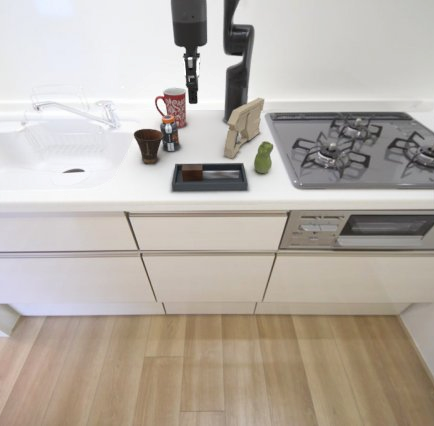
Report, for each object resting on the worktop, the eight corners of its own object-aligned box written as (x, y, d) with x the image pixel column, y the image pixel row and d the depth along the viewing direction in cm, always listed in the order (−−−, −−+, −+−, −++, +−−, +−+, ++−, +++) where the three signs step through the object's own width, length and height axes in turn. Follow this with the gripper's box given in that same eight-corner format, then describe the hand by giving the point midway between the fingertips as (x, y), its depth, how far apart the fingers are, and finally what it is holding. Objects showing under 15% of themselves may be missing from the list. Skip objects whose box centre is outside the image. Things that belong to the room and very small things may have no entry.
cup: (171, 160, 81) (168, 132, 74) (149, 170, 77) (143, 142, 70) (157, 150, 86) (152, 123, 79) (135, 160, 81) (128, 132, 74)
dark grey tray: (172, 191, 69) (171, 184, 67) (176, 170, 77) (175, 163, 75) (246, 190, 69) (247, 183, 67) (242, 169, 77) (243, 162, 75)
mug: (187, 119, 105) (185, 86, 96) (188, 128, 99) (186, 94, 89) (158, 121, 104) (153, 88, 95) (158, 130, 98) (152, 95, 88)
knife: (238, 175, 73) (239, 164, 71) (238, 180, 72) (240, 169, 69) (183, 176, 73) (182, 165, 71) (182, 181, 72) (181, 170, 69)
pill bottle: (176, 152, 85) (173, 121, 77) (161, 150, 86) (156, 120, 78) (181, 144, 89) (178, 114, 81) (166, 143, 90) (162, 112, 82)
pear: (258, 164, 79) (263, 136, 72) (273, 170, 76) (279, 141, 69) (249, 172, 76) (253, 143, 69) (264, 178, 73) (269, 149, 66)
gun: (230, 160, 80) (236, 115, 71) (222, 158, 82) (226, 113, 72) (258, 138, 97) (265, 98, 87) (251, 136, 98) (257, 96, 88)
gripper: (207, 22, 46) (208, 107, 57) (206, 13, 56) (207, 87, 67) (168, 23, 46) (177, 108, 57) (174, 14, 56) (181, 88, 67)
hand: (193, 97), depth 62 cm, fingers open, 8 cm apart
